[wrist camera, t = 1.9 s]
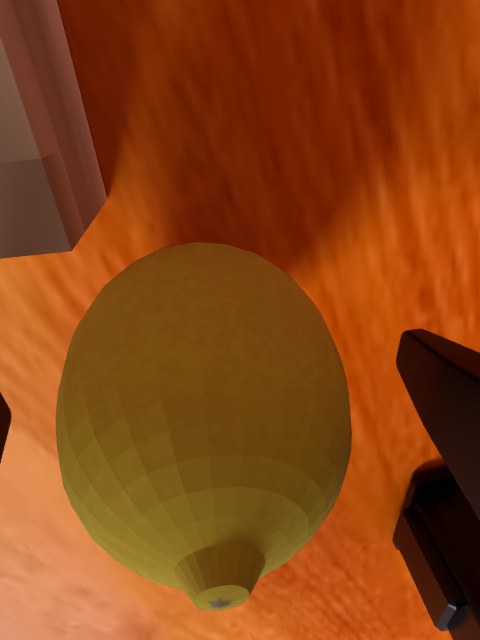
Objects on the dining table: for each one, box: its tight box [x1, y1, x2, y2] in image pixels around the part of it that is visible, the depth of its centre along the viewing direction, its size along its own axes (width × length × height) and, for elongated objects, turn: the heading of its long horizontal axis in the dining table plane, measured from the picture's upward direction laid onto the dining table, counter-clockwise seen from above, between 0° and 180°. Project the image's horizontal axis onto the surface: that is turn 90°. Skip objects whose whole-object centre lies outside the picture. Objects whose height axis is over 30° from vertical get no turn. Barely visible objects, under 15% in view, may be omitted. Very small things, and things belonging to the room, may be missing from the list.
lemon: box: [56, 242, 352, 611], centre depth 8 cm, size 6×6×8 cm
